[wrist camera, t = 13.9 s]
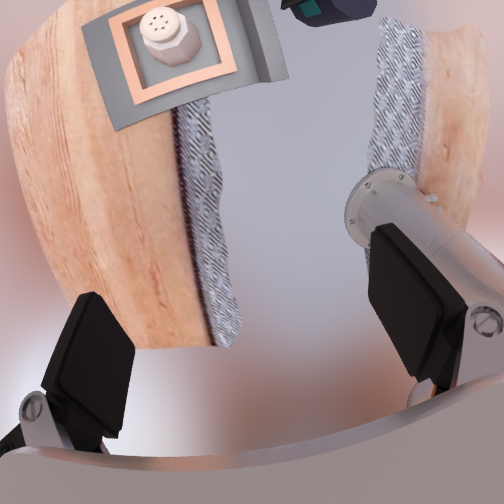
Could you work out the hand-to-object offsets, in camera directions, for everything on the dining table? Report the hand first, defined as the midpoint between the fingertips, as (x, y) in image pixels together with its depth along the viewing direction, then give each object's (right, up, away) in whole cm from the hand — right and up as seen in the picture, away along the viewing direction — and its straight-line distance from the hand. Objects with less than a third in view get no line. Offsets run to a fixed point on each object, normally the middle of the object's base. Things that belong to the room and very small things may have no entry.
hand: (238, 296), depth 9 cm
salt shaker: (-7, +23, +14) cm, 27 cm away
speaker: (+7, +29, +13) cm, 33 cm away
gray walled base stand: (-8, +23, +14) cm, 28 cm away
